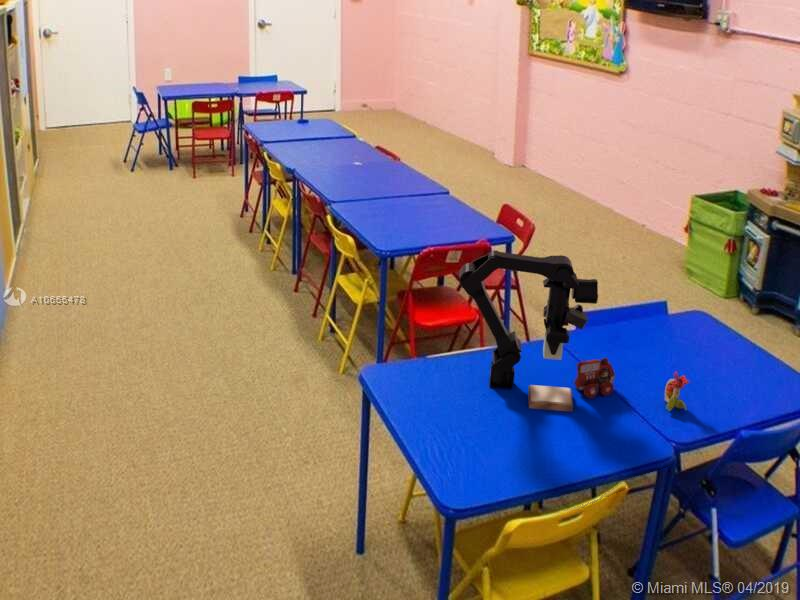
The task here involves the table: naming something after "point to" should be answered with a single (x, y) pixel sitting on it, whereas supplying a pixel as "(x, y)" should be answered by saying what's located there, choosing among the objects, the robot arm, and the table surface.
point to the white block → (548, 354)
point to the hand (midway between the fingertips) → (552, 350)
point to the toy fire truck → (595, 377)
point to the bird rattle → (675, 392)
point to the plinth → (550, 398)
